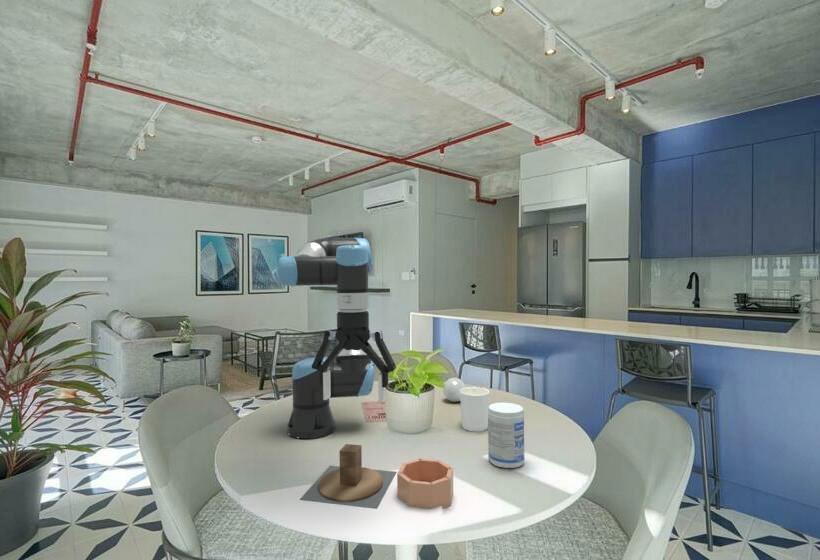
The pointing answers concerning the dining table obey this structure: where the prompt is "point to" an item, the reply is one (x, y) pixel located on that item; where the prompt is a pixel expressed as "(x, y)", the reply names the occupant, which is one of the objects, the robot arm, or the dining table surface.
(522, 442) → the supplement tub
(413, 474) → the bowl
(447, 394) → the potion bottle
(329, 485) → the lid
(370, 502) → the mat
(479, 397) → the candle holder
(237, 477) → the dining table surface
